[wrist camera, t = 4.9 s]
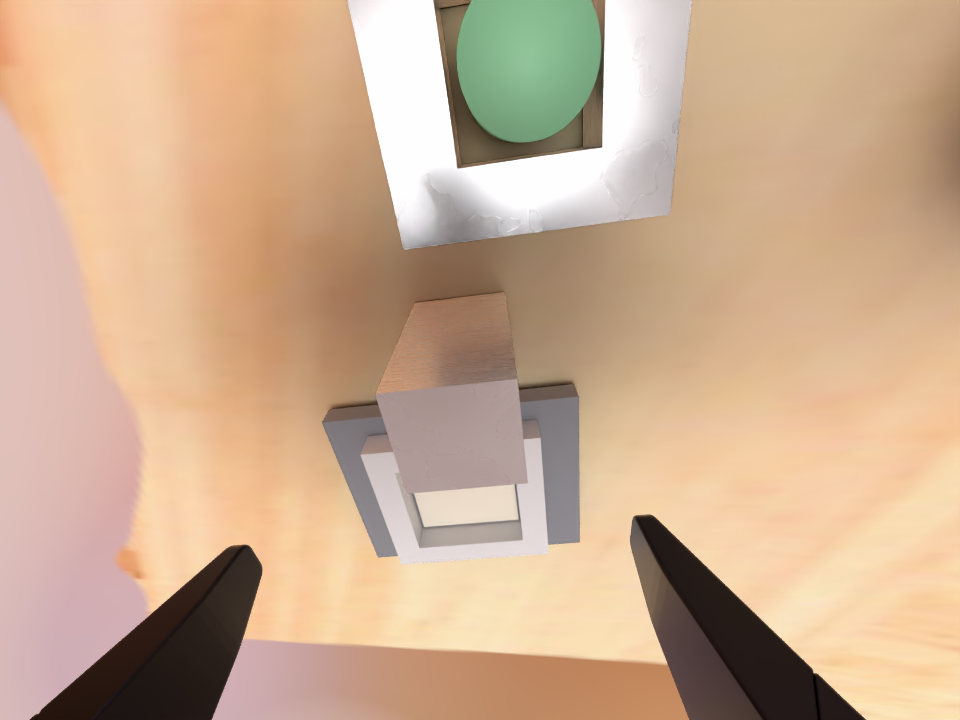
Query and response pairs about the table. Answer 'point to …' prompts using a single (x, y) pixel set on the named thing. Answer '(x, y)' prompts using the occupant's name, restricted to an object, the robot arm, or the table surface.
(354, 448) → the grey slotted socket base
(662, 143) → the square peg board
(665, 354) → the table surface
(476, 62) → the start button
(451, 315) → the block
